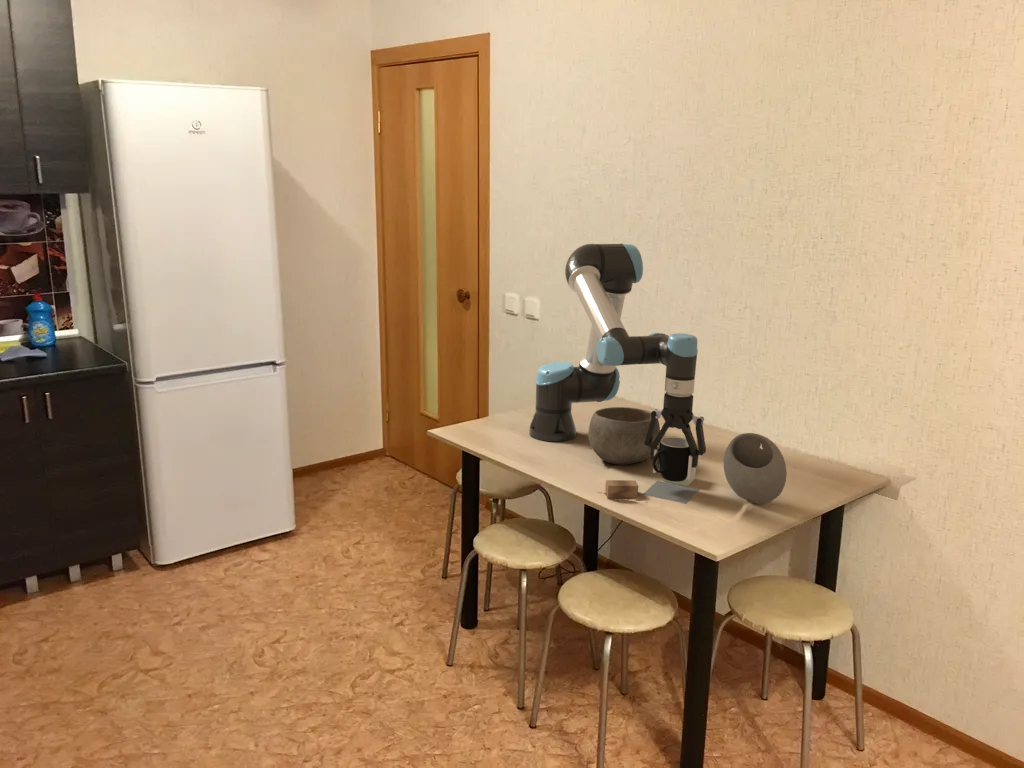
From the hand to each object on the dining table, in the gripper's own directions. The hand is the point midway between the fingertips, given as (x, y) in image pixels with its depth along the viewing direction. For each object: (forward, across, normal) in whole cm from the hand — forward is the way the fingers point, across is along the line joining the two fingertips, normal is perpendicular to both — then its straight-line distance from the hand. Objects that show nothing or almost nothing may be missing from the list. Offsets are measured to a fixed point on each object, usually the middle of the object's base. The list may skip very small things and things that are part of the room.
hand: (672, 474), depth 227 cm
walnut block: (+6, -11, -8) cm, 15 cm away
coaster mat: (+6, 0, 0) cm, 6 cm away
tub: (+6, -1, +10) cm, 12 cm away
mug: (+1, -1, 0) cm, 2 cm away
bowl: (+6, -21, +18) cm, 28 cm away
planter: (+6, +20, +7) cm, 22 cm away
